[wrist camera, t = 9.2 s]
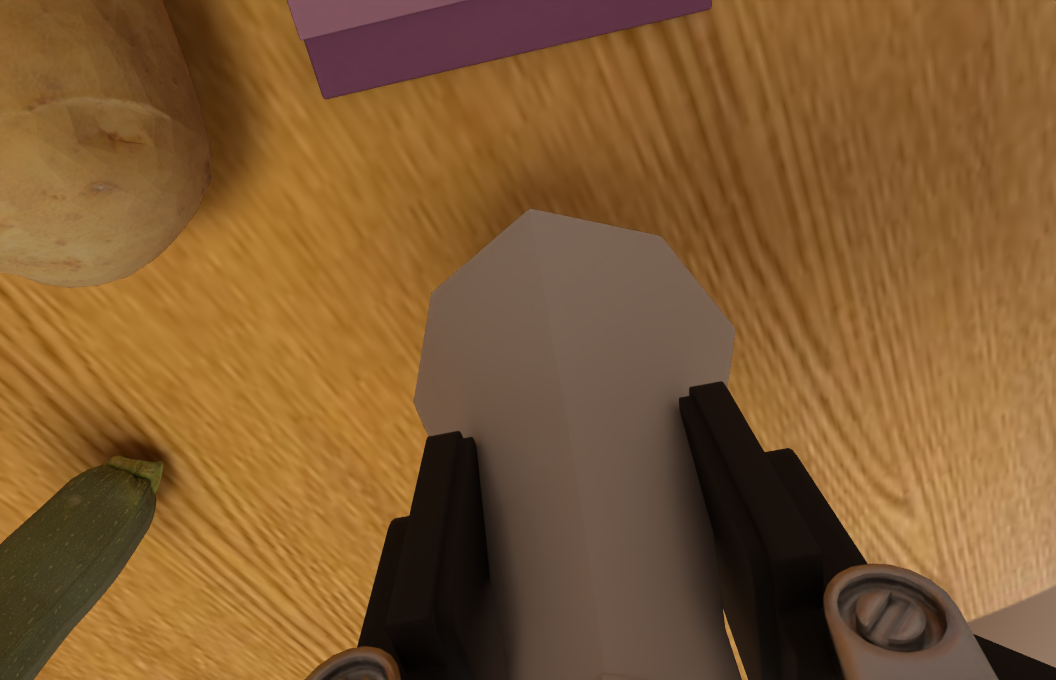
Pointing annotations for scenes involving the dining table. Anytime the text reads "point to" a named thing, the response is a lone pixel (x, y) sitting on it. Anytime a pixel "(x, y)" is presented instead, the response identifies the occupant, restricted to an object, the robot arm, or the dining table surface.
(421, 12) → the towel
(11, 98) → the potato
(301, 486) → the dining table surface
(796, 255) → the dining table surface
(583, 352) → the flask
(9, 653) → the vegetable
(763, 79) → the dining table surface
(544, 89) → the dining table surface
